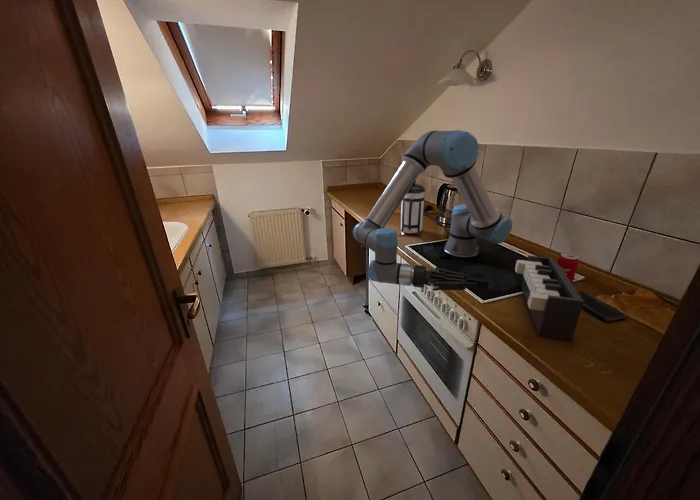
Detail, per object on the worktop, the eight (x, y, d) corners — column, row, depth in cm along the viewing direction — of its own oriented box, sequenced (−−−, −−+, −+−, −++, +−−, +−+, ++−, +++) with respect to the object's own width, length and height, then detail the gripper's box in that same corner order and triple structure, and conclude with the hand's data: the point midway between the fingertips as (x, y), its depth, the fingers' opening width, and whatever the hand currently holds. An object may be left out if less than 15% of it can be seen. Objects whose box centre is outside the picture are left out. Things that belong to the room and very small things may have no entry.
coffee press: (391, 231, 172) (392, 179, 161) (414, 227, 178) (417, 176, 167) (408, 240, 158) (411, 184, 146) (432, 235, 164) (437, 180, 152)
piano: (516, 286, 112) (523, 254, 107) (545, 290, 109) (554, 257, 104) (533, 334, 87) (543, 296, 81) (571, 341, 84) (584, 301, 79)
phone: (606, 319, 90) (564, 293, 104) (605, 322, 91) (563, 296, 104) (627, 315, 91) (583, 291, 105) (626, 318, 92) (582, 293, 105)
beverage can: (550, 279, 116) (558, 251, 111) (570, 282, 113) (578, 253, 108) (552, 286, 111) (560, 257, 106) (572, 290, 108) (581, 260, 103)
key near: (527, 303, 88) (530, 292, 86) (556, 307, 86) (560, 295, 84) (529, 309, 86) (532, 297, 84) (559, 313, 83) (563, 301, 82)
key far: (514, 269, 108) (517, 259, 107) (538, 272, 106) (540, 262, 104) (516, 273, 106) (518, 263, 104) (540, 275, 103) (542, 265, 102)
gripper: (415, 276, 110) (484, 285, 102) (410, 294, 98) (487, 305, 91) (416, 258, 107) (487, 265, 100) (411, 274, 95) (491, 284, 88)
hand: (487, 284), depth 95 cm, fingers closed
